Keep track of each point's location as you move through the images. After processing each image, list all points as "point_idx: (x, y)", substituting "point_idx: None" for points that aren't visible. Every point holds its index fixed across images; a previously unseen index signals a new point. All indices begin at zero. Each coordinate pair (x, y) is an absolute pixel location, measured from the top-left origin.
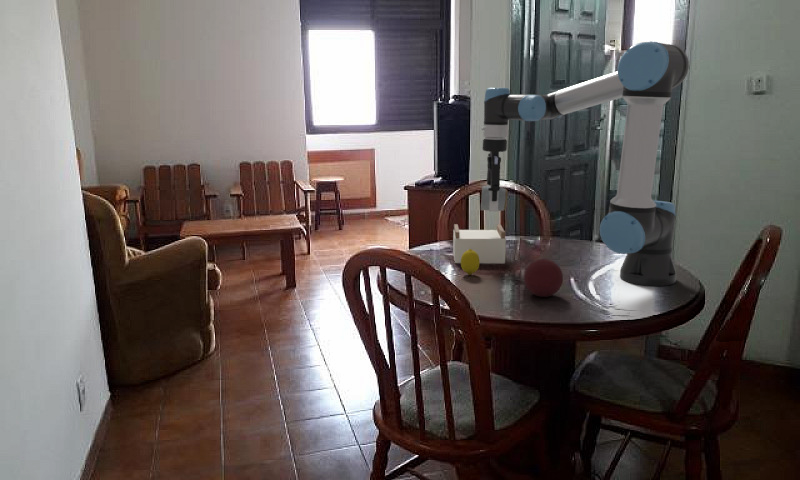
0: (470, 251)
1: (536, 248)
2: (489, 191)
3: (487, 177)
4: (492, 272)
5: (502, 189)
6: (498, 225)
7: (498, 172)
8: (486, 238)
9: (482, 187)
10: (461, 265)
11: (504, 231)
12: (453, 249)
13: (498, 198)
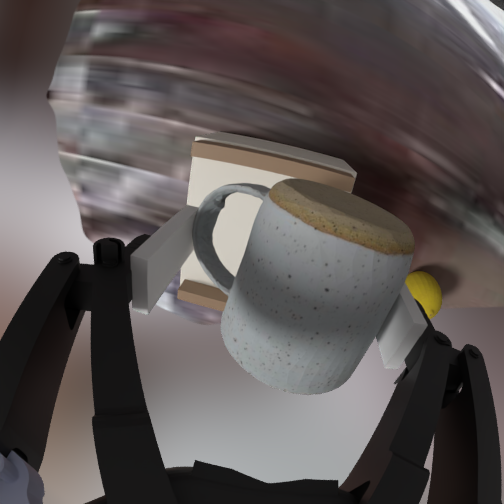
0: (434, 313)
1: (181, 21)
2: (360, 356)
3: (77, 327)
4: (411, 225)
5: (380, 280)
6: (210, 155)
7: (491, 448)
8: None
9: (257, 375)
10: None
11: (337, 173)
12: None
13: (410, 293)
